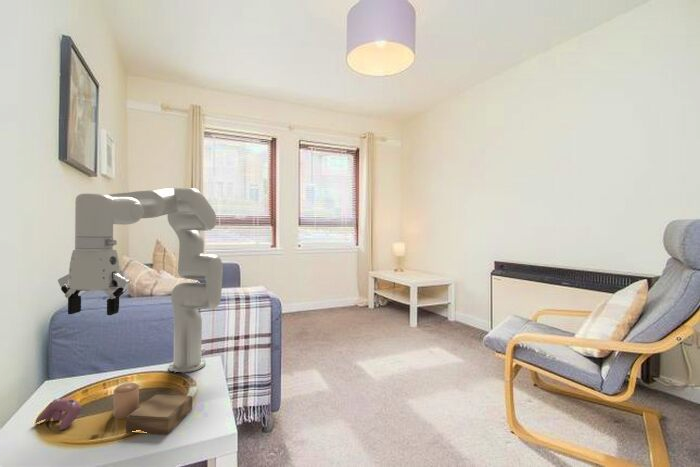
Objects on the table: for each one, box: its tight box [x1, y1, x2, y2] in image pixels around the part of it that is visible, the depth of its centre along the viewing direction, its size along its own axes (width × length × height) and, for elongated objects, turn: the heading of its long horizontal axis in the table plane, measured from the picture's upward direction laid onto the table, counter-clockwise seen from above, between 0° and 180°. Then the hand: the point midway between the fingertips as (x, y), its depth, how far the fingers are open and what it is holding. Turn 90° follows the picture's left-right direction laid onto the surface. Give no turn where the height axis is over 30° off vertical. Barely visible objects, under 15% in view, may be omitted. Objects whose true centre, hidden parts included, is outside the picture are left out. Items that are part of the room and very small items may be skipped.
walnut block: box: [125, 394, 193, 436], centre depth 94 cm, size 12×11×4 cm
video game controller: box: [35, 397, 83, 431], centre depth 92 cm, size 10×5×7 cm, turn 74°
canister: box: [113, 382, 140, 420], centre depth 97 cm, size 6×6×7 cm
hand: (93, 313), depth 85 cm, fingers open, 9 cm apart
